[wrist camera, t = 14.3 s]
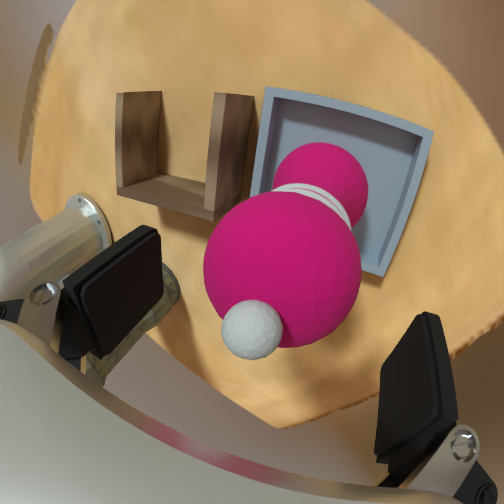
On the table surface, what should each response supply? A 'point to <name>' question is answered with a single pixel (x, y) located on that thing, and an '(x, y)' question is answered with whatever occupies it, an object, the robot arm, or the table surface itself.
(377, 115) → the slate tray
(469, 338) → the table surface
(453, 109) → the table surface
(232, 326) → the pepper mill
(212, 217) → the walnut bay
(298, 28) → the table surface
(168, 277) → the olive piece
